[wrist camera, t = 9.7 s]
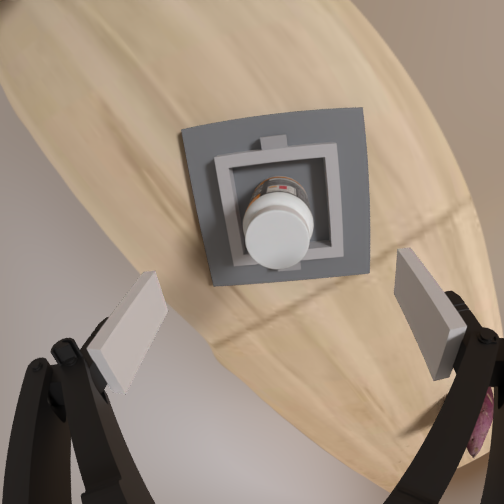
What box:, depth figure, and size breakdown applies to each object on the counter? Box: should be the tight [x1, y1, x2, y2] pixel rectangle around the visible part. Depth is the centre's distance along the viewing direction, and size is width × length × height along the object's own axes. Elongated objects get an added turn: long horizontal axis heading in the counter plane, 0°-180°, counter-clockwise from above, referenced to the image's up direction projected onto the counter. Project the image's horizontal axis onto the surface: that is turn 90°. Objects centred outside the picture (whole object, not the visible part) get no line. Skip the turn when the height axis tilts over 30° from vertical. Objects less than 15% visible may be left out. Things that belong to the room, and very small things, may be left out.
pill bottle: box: [243, 176, 314, 269], centre depth 26 cm, size 6×6×10 cm
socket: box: [181, 107, 370, 287], centre depth 31 cm, size 18×18×3 cm
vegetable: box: [467, 387, 494, 458], centre depth 38 cm, size 10×10×15 cm
